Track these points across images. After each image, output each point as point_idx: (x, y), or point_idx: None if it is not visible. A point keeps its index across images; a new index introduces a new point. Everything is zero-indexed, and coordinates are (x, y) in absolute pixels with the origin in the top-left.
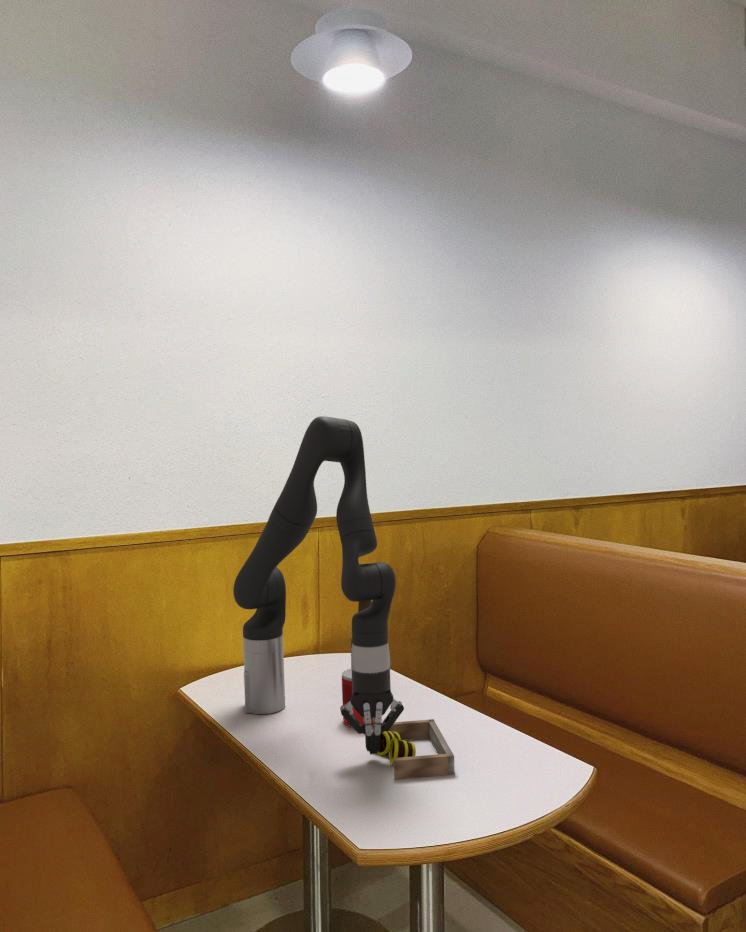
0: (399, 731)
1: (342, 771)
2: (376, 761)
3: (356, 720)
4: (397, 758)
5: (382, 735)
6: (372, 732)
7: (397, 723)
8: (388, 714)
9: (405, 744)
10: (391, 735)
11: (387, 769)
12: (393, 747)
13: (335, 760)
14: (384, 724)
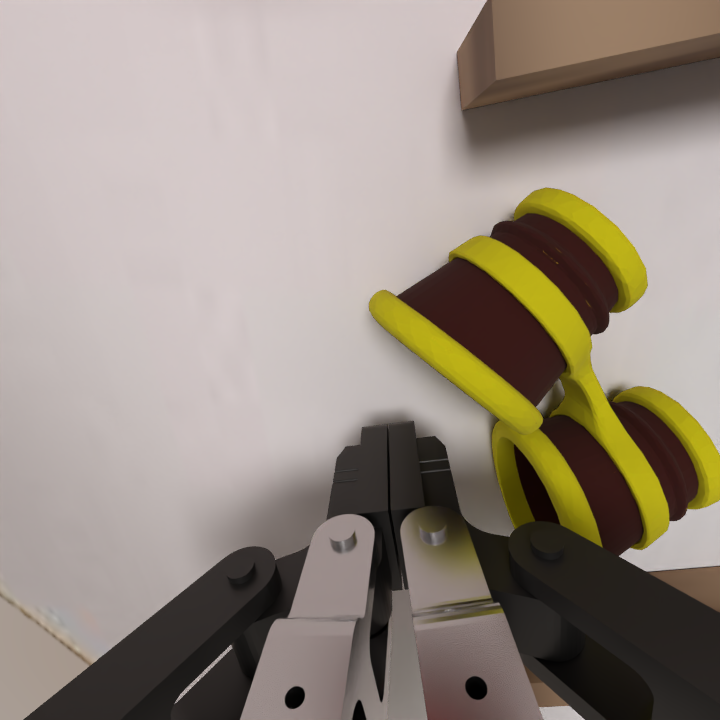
0: (673, 53)
1: (234, 526)
2: None
3: (199, 664)
4: (547, 686)
5: (480, 260)
6: (394, 522)
7: (716, 5)
8: (663, 682)
9: (650, 543)
10: (568, 366)
11: (469, 519)
12: (545, 431)
13: (164, 409)
14: (541, 647)
